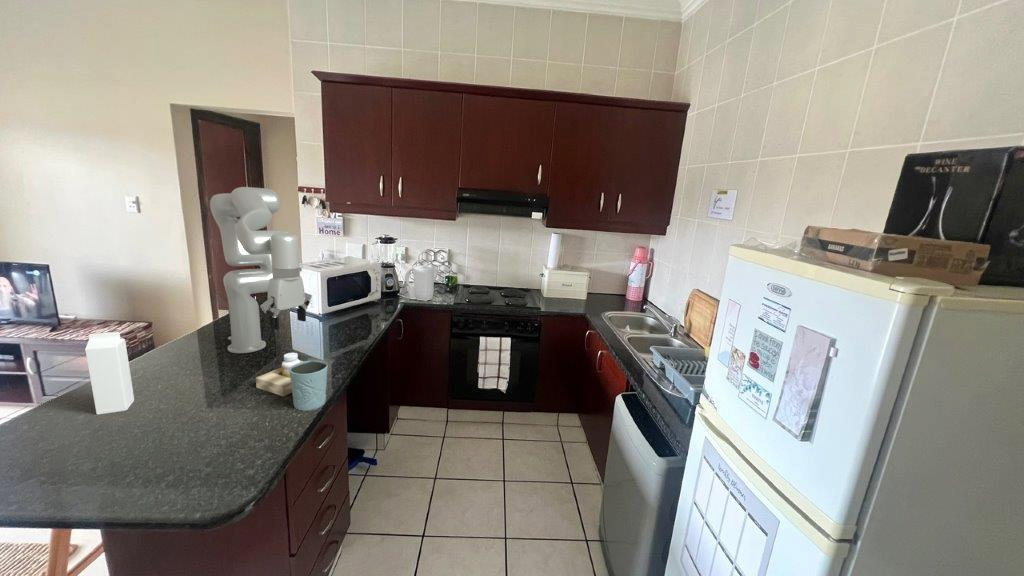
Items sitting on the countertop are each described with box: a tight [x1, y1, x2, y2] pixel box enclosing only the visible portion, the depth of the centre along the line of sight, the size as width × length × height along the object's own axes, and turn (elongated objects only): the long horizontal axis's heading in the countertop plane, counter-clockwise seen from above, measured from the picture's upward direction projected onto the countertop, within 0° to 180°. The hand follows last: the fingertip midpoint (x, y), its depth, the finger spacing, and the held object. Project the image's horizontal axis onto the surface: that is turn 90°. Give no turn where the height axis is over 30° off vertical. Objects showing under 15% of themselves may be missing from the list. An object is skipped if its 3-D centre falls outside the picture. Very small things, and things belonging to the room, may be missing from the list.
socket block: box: [255, 360, 305, 397], centre depth 126 cm, size 12×16×4 cm
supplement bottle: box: [281, 352, 301, 378], centre depth 126 cm, size 5×5×10 cm
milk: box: [84, 331, 135, 415], centre depth 103 cm, size 6×6×22 cm
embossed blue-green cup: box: [289, 359, 329, 412], centre depth 114 cm, size 10×10×12 cm
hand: (288, 324), depth 122 cm, fingers open, 9 cm apart
